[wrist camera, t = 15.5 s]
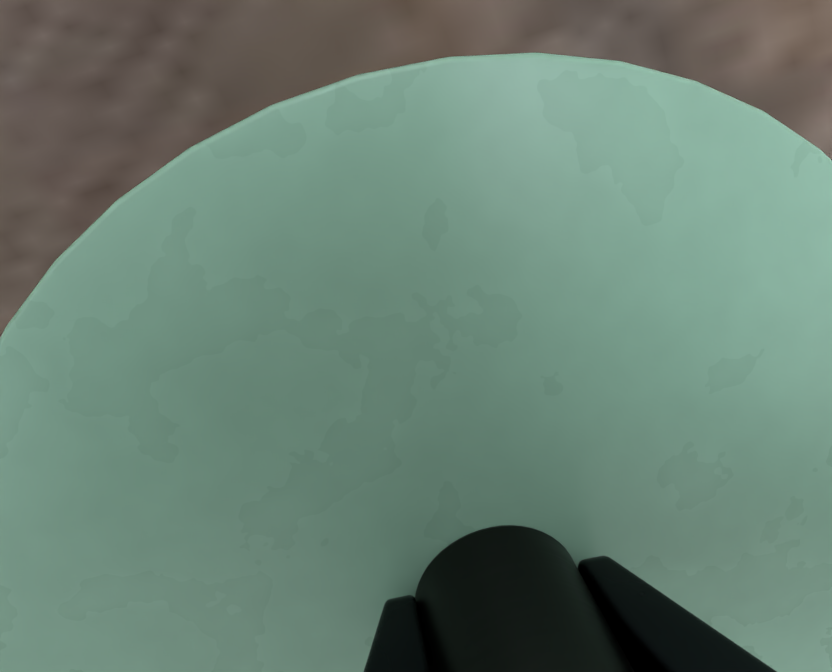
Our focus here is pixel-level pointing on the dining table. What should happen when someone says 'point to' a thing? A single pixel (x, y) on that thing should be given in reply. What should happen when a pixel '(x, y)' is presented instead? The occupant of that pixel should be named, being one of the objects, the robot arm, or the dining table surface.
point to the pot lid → (431, 382)
